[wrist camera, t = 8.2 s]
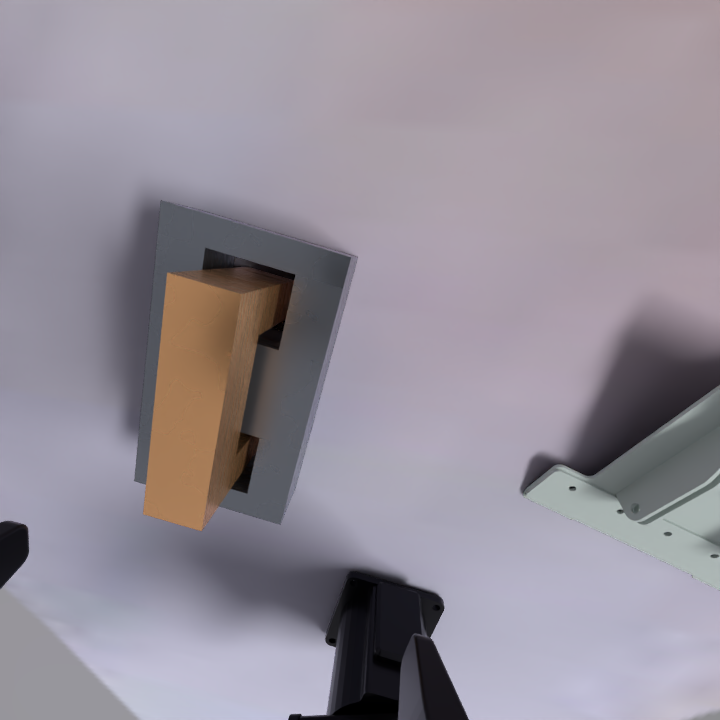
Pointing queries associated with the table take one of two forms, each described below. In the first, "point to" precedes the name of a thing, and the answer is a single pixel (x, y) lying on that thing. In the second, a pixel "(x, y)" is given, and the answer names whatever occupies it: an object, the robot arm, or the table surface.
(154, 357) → the slotted plate
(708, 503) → the metal bracket
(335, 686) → the robot arm
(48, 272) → the table surface
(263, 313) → the clip
